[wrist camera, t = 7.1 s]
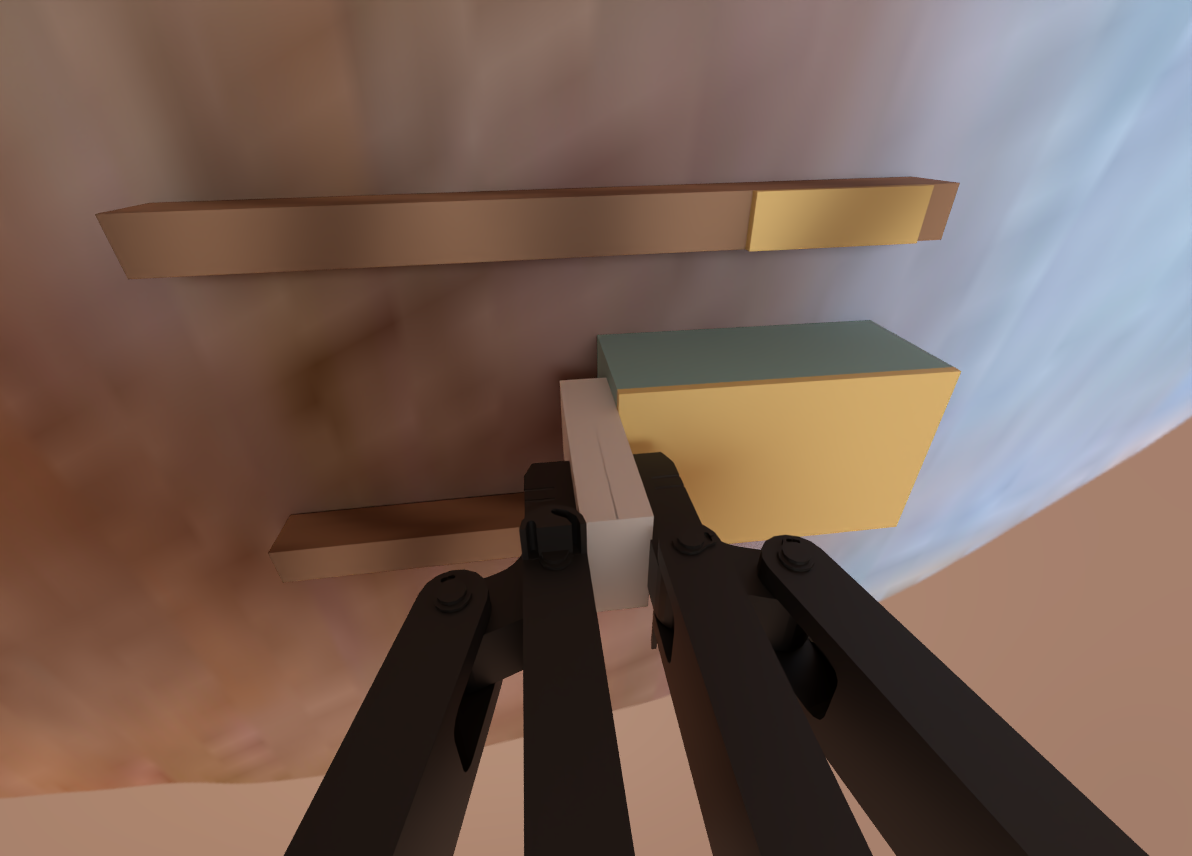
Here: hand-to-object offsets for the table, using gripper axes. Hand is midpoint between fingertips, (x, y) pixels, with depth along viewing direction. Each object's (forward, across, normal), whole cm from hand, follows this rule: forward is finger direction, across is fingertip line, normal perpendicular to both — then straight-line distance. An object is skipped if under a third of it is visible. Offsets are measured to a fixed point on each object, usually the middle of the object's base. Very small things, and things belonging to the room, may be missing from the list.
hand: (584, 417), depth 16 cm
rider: (+2, +6, -1) cm, 6 cm away
